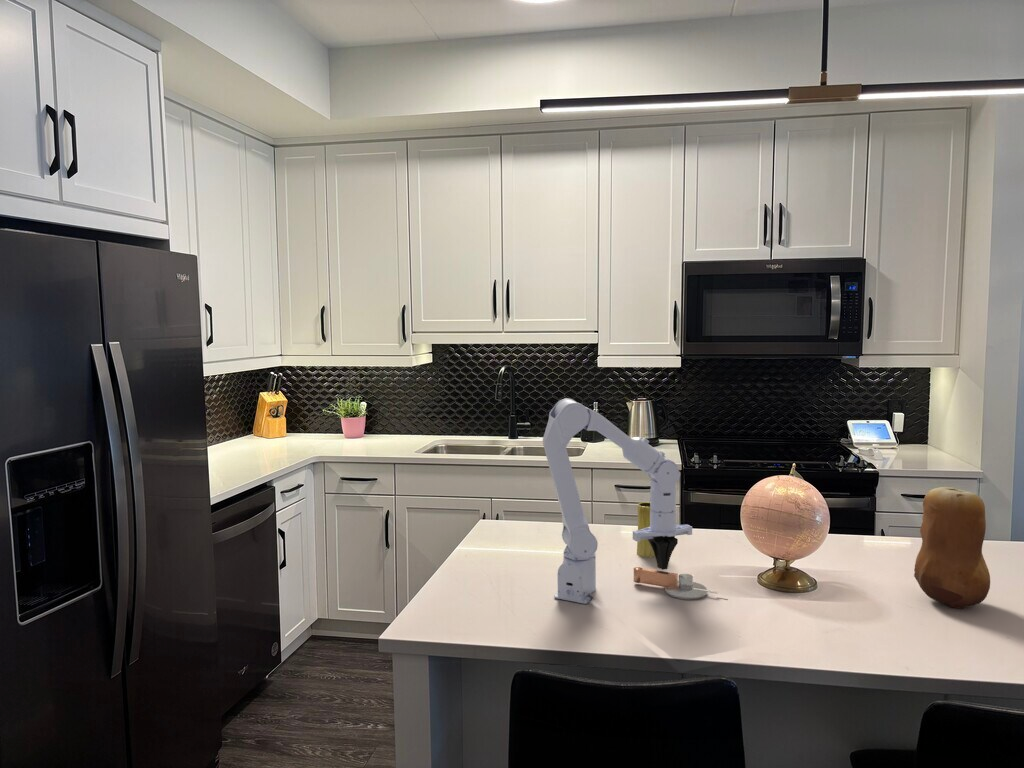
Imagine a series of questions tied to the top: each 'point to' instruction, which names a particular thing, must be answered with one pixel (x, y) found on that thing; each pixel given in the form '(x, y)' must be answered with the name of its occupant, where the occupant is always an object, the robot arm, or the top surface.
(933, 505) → the butternut squash
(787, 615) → the top surface
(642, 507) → the vase
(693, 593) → the pizza cutter
